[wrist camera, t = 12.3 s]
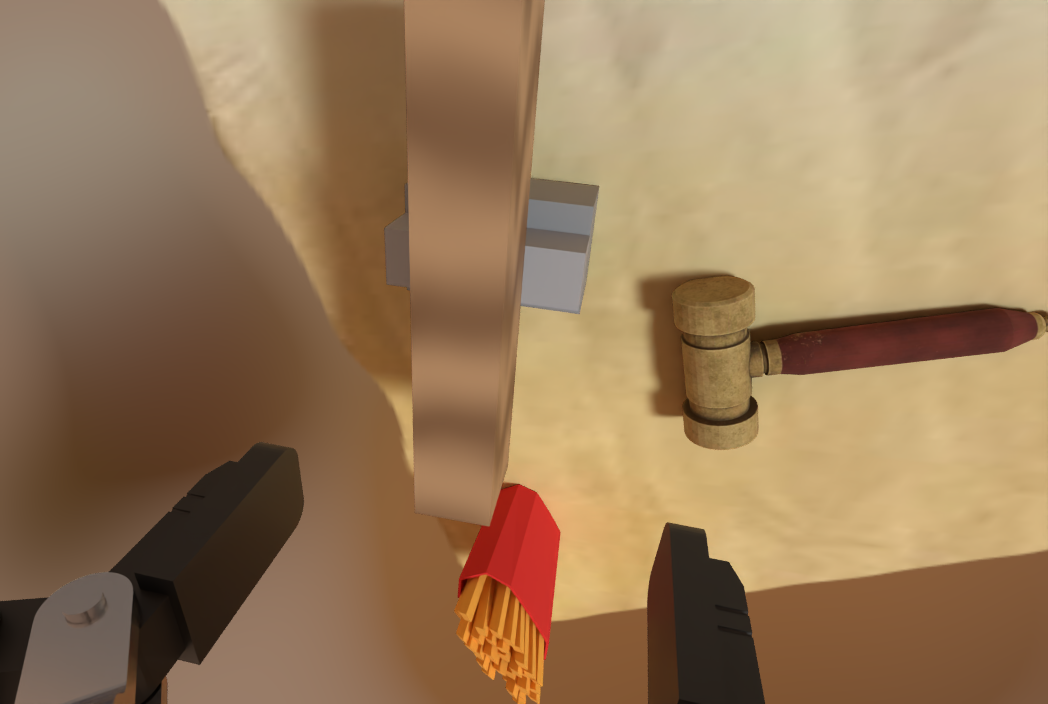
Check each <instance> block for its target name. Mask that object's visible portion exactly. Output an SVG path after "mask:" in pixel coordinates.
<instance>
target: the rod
mask: <svg viewBox="0 0 1048 704" xmlns="http://www.w3.org/2000/svg"><path fill="white" fill-rule="evenodd" d="M544 2H545V0H404V15H405V63H406V111H407V159H408V207H409V256H410V304H411V352H412V400H413V448H414V494H415V495H414V496H415V513H419V514H424V515H429V516H434V517H440V518H445V519H451V520H456V521H462V522H467V523H473V524H478V525H483V526H490V523H491V519H492V516H493V513H494V510H495V506H496V503H497V500H498V496H499V493H500V490H501V487H502V483H503V480H504V477H505V473H506V470H507V467H508V458H509V446H510V433H511V420H512V408H513V395H514V382H515V370H516V357H517V344H518V332H519V319H520V306H521V294H522V281H523V268H524V255H525V243H526V230H527V217H528V205H529V192H530V179H531V167H532V154H533V141H534V129H535V116H536V103H537V91H538V78H539V65H540V53H541V40H542V27H543V15H544Z"/></svg>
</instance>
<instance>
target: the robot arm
mask: <svg viewBox="0 0 1048 704" xmlns="http://www.w3.org/2000/svg"><path fill="white" fill-rule="evenodd" d="M303 505H304V497H303V490H302V483H301V475H300V468H299V461H298V455H297V452H296V450H295V449H293V448H289V447H284V446H279V445H274V444H268V443H263V442H259V443H257V444H255V445H254V446H253V447H252V448H251V449H250V450H249V451H248V452H247V453H246V454H245V455H244V456H243V457H242V458H241V459H240V460H239V461H238V462H233V461H229V462H227V463H225V464H223V465H221V466H220V467H218V468H216V469H215V470H213V471H211V472H210V473H208V474H206V475H205V476H204V477H203V478H202V479H201V480H200V481H199V482H198V483H197V484H196V485H195V486H194V487H193V488H192V489H191V490H190V491H189V492H188V493H187V496H186V497H183V498H182V499H181V500H180V501H179V502H178V503H177V504H176V505H175V506H174V507H173V509H172V512H168V513H167V514H166V515H165V516H164V517H163V518H162V519H161V520H160V521H159V522H158V523H157V524H156V525H155V526H154V527H153V528H152V529H151V530H150V531H149V532H148V533H147V534H146V535H145V536H144V537H143V538H142V539H141V540H140V541H139V542H138V544H136V545H135V546H134V547H133V548H132V549H131V550H130V551H129V552H128V553H127V554H126V555H125V556H124V557H123V558H122V560H120V561H119V562H118V564H116V566H114V567H113V568H112V569H111V570H110V571H109V572H103V573H95V574H90V575H87V576H84V577H81V578H78V579H76V580H74V581H72V582H70V583H68V584H66V585H64V586H63V587H61V588H60V589H58V590H57V591H56V592H54V593H53V594H52V595H51V596H50V597H48V598H36V599H25V600H24V599H23V600H11V601H0V704H168V682H167V677H166V675H167V673H168V672H169V671H170V669H171V668H172V667H173V665H174V664H175V663H176V661H177V660H182V661H186V662H190V663H194V664H198V665H200V664H201V662H202V661H203V659H204V658H205V657H206V655H207V654H208V653H209V651H210V650H211V648H212V647H213V645H214V644H215V643H216V641H217V640H218V638H219V637H220V635H221V634H222V632H223V631H224V630H225V628H226V627H227V625H228V624H229V623H230V621H231V620H232V618H233V617H234V615H235V614H236V613H237V611H238V610H239V608H240V607H241V605H242V604H243V603H244V601H245V600H246V598H247V597H248V595H249V594H250V593H251V591H252V590H253V588H254V587H255V585H256V584H257V583H258V581H259V580H260V578H261V577H262V575H263V574H264V573H265V571H266V570H267V568H268V567H269V566H270V564H271V563H272V561H273V559H274V558H275V557H276V556H277V554H278V553H279V551H280V550H281V548H282V547H283V546H284V544H285V543H286V541H287V540H288V538H289V537H290V536H291V534H292V533H293V531H294V530H295V528H296V526H297V525H298V523H299V521H300V518H301V515H302V511H303ZM647 615H648V616H647V621H648V704H765V700H764V695H763V689H762V684H761V679H760V673H759V668H758V662H757V657H756V651H755V646H754V640H753V638H752V630H751V624H750V618H749V616H748V607H747V602H746V597H745V591H744V586H743V584H742V583H741V581H740V579H739V578H738V576H737V574H736V573H735V571H734V570H733V568H732V566H731V565H730V563H729V562H727V561H722V560H717V559H712V558H709V553H708V546H707V538H706V533H705V530H704V529H699V528H694V527H688V526H683V525H678V524H673V523H668V522H667V523H666V525H665V527H664V530H663V533H662V537H661V540H660V544H659V547H658V551H657V554H656V557H655V561H654V564H653V568H652V571H651V575H650V581H649V588H648V600H647Z"/></svg>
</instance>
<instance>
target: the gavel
mask: <svg viewBox="0 0 1048 704" xmlns="http://www.w3.org/2000/svg"><path fill="white" fill-rule="evenodd" d="M672 302H673V313H674V324H675V326H676V327H677V328H678V329H679V330H681V331H683V333H682V336H681V342H682V353H683V364H684V376H685V387H686V396H687V398H686V399H685V401H684V402H683V405H682V409H683V420H684V431H685V434H686V436H687V438H688V439H689V440H690V441H692V442H693V443H695V444H697V445H699V446H701V447H704V448H708V449H715V450H729V449H735V448H739V447H742V446H744V445H747V444H749V443H750V442H751V441H753V440H754V439H755V438H756V436H757V434H758V405H757V402H756V400H755V399H754V398H753V397H752V396H751V394H752V378H753V377H762V376H763V373H765V375H775V374H794V375H805V374H814V373H823V372H831V371H840V370H849V369H858V368H866V367H875V366H884V365H893V364H901V363H910V362H919V361H927V360H936V359H945V358H954V357H962V356H971V355H980V354H989V353H997V352H1005V351H1007V350H1009V349H1012V348H1014V347H1016V346H1019V345H1021V344H1023V343H1026V342H1028V341H1030V340H1035V339H1039V338H1040V337H1042V336H1043V335H1044V333H1045V331H1046V332H1048V315H1047V316H1044V317H1042V316H1041V315H1040V314H1038V313H1035V312H1028V313H1026V312H1020V311H1014V310H1008V309H1001V308H991V309H983V310H975V311H967V312H959V313H951V314H944V315H936V316H928V317H920V318H912V319H904V320H896V321H888V322H881V323H873V324H865V325H857V326H849V327H841V328H833V329H825V330H818V331H810V332H802V333H795V334H791V335H788V336H785V337H781V338H778V339H774V340H766V341H761V343H760V344H759V343H758V342H757V341H754V342H750V332H749V330H748V329H747V327H748V326H750V325H751V324H752V323H753V322H754V320H755V288H754V286H753V285H752V284H751V283H750V282H748V281H746V280H744V279H741V278H738V277H733V276H719V277H711V278H703V279H695V280H691V281H688V282H686V283H683V284H682V285H680V286H679V287H677V288H676V289H675V290H674V291H673V293H672Z"/></svg>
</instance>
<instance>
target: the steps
mask: <svg viewBox="0 0 1048 704" xmlns="http://www.w3.org/2000/svg"><path fill="white" fill-rule="evenodd" d="M598 191H599V186H594V185H586V184H577V183H568V182H559V181H551V180H542V179H533V178H531V179H530V192H529V205H528V217H527V230H526V243H525V255H524V268H523V281H522V294H521V306H526V307H533V308H540V309H547V310H554V311H562V312H569V313H576V314H580V309H581V304H582V300H583V295H584V290H585V285H586V280H587V272H588V265H589V258H590V250H591V243H592V236H593V228H594V221H595V214H596V206H597V199H598ZM384 232H385V257H386V281H387V285H394V286H402V287H407V290H410V256H409V207H408V183H406V184H405V213H404V214H403V215H401V216H400V217H399V218H397V219H396V220H395V221H393V222H392V223H390V224H389V225H388V226H386V227H385V228H384Z"/></svg>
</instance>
